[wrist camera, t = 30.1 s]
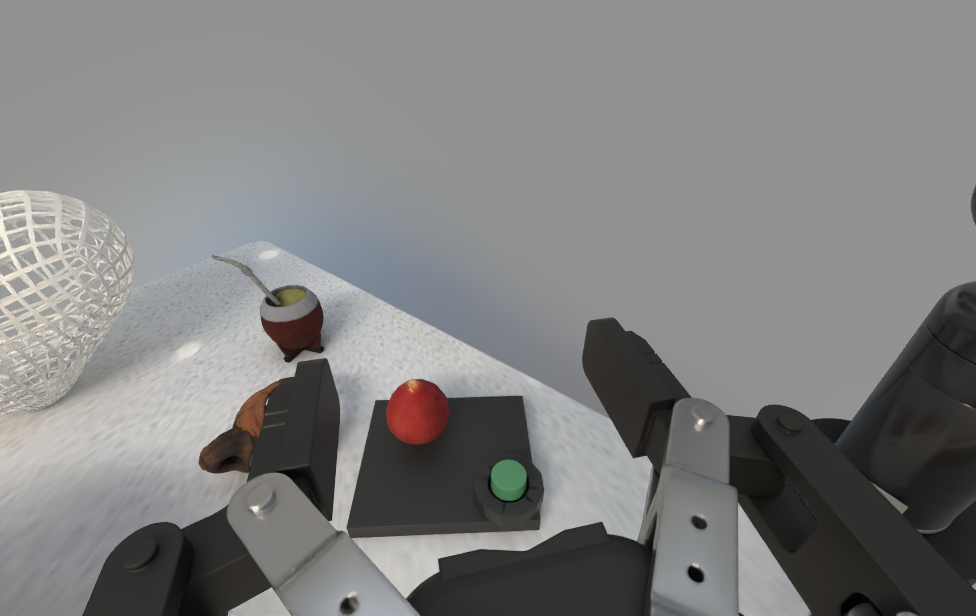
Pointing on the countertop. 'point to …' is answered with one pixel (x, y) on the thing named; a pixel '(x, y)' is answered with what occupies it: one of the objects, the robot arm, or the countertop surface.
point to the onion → (417, 412)
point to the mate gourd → (288, 315)
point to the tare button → (508, 480)
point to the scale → (446, 474)
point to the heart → (102, 326)
